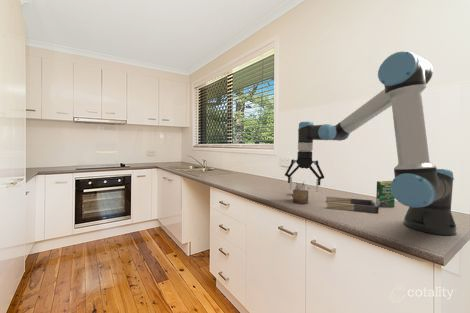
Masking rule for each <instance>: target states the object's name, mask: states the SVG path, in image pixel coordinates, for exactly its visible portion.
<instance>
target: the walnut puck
mask: <svg viewBox="0 0 470 313" xmlns="http://www.w3.org/2000/svg"><path fill="white" fill-rule="evenodd" d="M292 203H294V204H297V203H298V205H307V204H309V191H308V190H307V191H306V190H295V189H292Z"/></svg>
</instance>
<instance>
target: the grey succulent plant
mask: <svg viewBox="0 0 470 313" xmlns="http://www.w3.org/2000/svg"><path fill="white" fill-rule="evenodd" d="M309 189H310V187H308V186H307V185H306V184H305V182H302V183H296V186H295V188H294V190H306V191H308V190H309Z"/></svg>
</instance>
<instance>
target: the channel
mask: <svg viewBox="0 0 470 313" xmlns="http://www.w3.org/2000/svg"><path fill="white" fill-rule="evenodd" d="M325 202H326V209H332V210H343V211H352V212H362V213H369V214H379V210H380V209H379V208H380V207H378V206H377V205H376V202H374V200H373V199H362V198H361V199H360V198H351V197H349V198H348V197H341V196H340V197H337V196H328V195H327V196H326V197H325Z"/></svg>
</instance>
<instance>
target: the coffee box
mask: <svg viewBox="0 0 470 313" xmlns="http://www.w3.org/2000/svg"><path fill="white" fill-rule="evenodd" d="M392 181H393V180H384V181H383V180H378V181H376V202H375V204H376V205H377V206H378V207H379V208H395V205H396V204H395V200H396V199H395V198H394V197H393V195H392V193H391V189H390V186H391V182H392Z"/></svg>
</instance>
